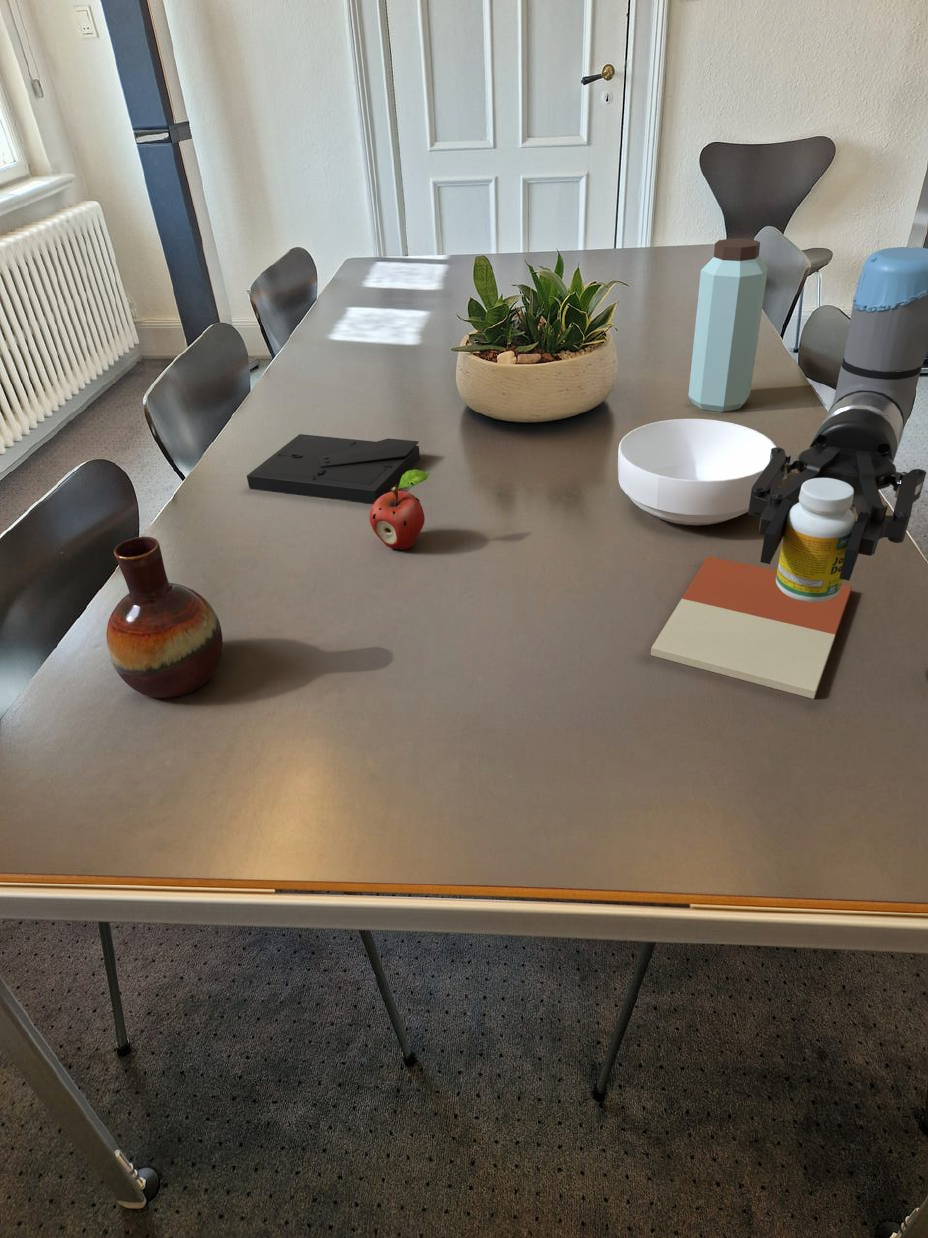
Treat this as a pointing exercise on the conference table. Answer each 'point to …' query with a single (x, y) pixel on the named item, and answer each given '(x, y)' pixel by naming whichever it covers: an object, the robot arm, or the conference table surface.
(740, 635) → the sorting mat
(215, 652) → the vase
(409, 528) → the apple
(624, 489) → the bowl
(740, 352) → the water bottle
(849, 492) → the supplement bottle
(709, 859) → the conference table surface
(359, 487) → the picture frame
